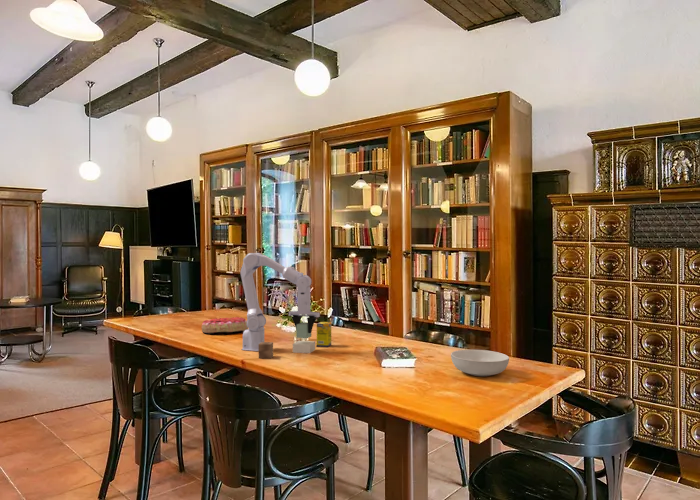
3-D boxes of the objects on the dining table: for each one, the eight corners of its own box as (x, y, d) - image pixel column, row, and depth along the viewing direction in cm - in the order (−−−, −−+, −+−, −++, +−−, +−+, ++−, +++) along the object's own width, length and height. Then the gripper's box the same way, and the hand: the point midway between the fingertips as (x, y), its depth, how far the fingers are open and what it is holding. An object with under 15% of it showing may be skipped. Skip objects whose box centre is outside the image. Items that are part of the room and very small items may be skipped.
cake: (233, 334, 262) (233, 319, 263) (191, 334, 269) (191, 319, 269) (255, 330, 286) (255, 316, 287) (216, 330, 293) (216, 316, 293)
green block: (296, 337, 224) (296, 324, 224) (301, 335, 229) (301, 322, 228) (306, 338, 222) (306, 324, 222) (311, 336, 227) (311, 323, 227)
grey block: (292, 353, 222) (292, 344, 222) (298, 349, 230) (298, 340, 230) (310, 354, 221) (310, 344, 221) (315, 350, 229) (315, 341, 228)
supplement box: (328, 347, 234) (328, 323, 234) (316, 346, 235) (316, 323, 235) (331, 344, 240) (331, 322, 240) (319, 344, 241) (319, 321, 241)
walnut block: (258, 358, 210) (258, 344, 210) (261, 356, 215) (261, 342, 215) (270, 358, 210) (270, 344, 210) (273, 356, 215) (273, 342, 215)
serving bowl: (500, 383, 171) (500, 363, 171) (442, 375, 182) (442, 356, 182) (515, 371, 189) (515, 352, 189) (461, 364, 200) (461, 347, 200)
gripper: (285, 302, 224) (285, 333, 224) (315, 303, 219) (315, 334, 219) (292, 301, 231) (292, 330, 231) (321, 302, 226) (321, 332, 226)
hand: (304, 332), depth 225 cm, fingers closed on green block, 5 cm apart
